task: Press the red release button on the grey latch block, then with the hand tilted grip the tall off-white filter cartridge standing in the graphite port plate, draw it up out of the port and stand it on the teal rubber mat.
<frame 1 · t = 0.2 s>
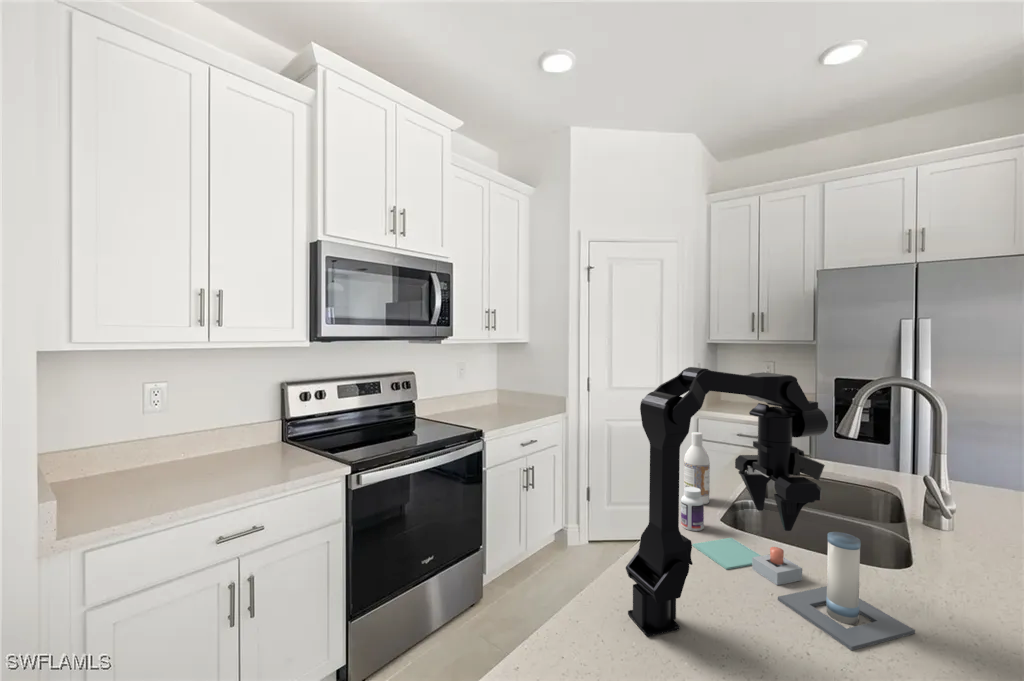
hand: (773, 519, 88), 14 cm above the counter, tool pointing down, fingers open, 9 cm apart
latch block: (776, 574, 95), on the counter
release button: (776, 555, 95), point 4 cm above the counter, slide at 0.0 cm
port plate: (842, 615, 81), on the counter
pill bottle: (692, 527, 117), on the counter
cartridge: (842, 615, 81), resting in port plate
rubber mat: (729, 553, 103), on the counter
bath foam: (696, 501, 134), on the counter
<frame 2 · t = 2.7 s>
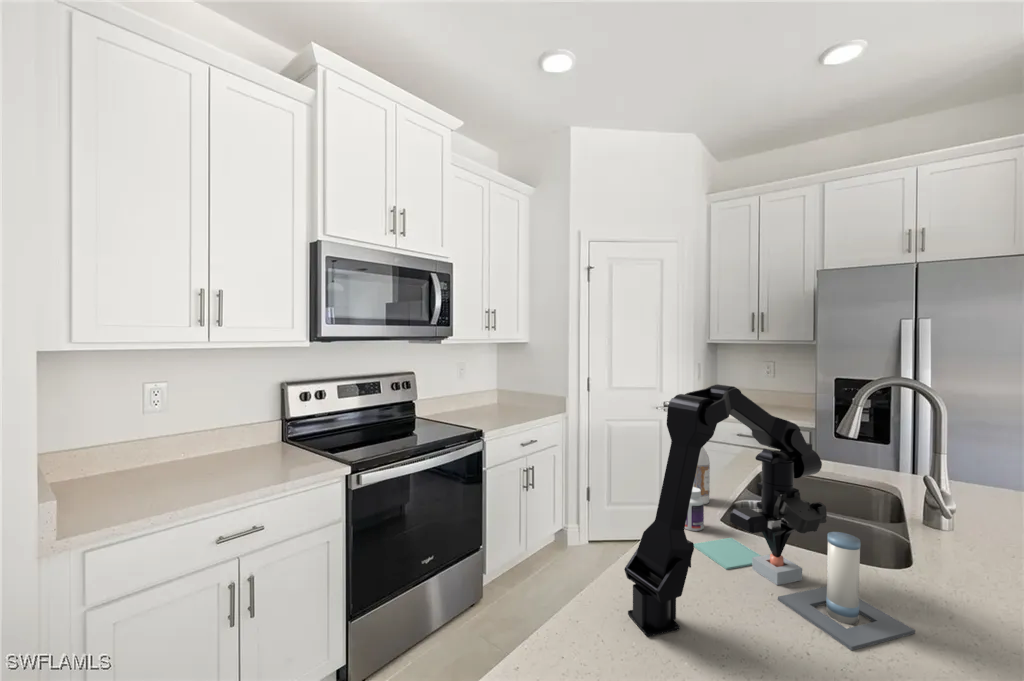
hand: (776, 556, 95), 4 cm above the counter, tool pointing down, fingers closed, pressing on release button
release button: (776, 562, 95), point 3 cm above the counter, slide at 1.4 cm, touching gripper
everything else where it was.
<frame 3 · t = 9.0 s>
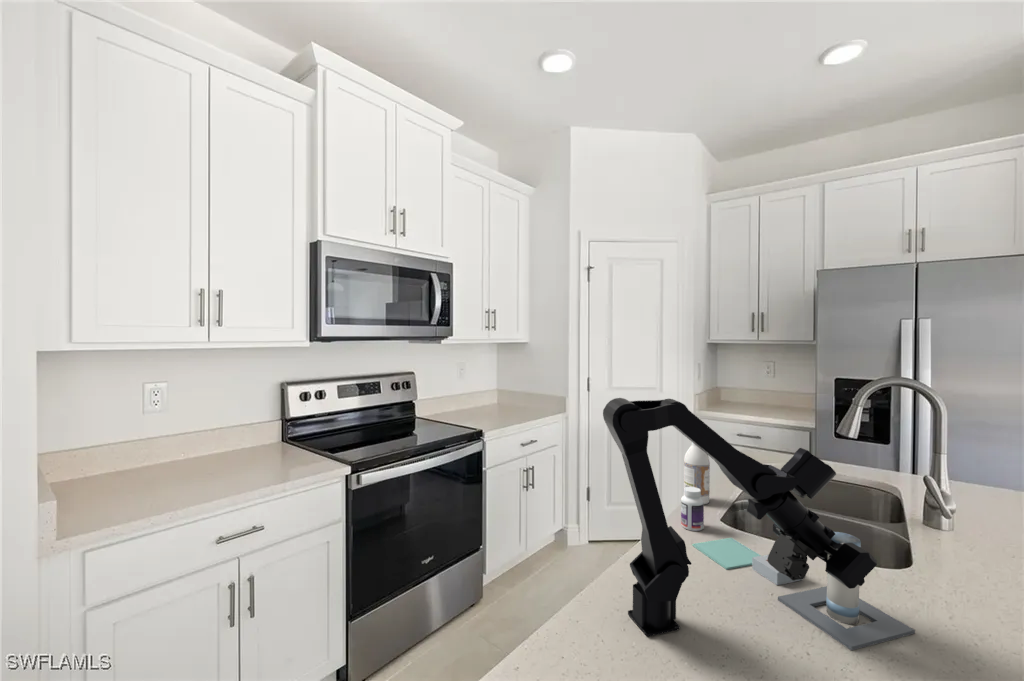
hand: (850, 576, 81), 7 cm above the counter, tool tilted 45°, fingers closed on cartridge, 5 cm apart
release button: (776, 564, 95), point 2 cm above the counter, slide at 1.9 cm
cartridge: (842, 615, 81), resting in port plate, touching gripper
everything else where it was.
when the fingers open (8 cm above the counter, at t = 13.7 s): cartridge stays where it is, resting on rubber mat.
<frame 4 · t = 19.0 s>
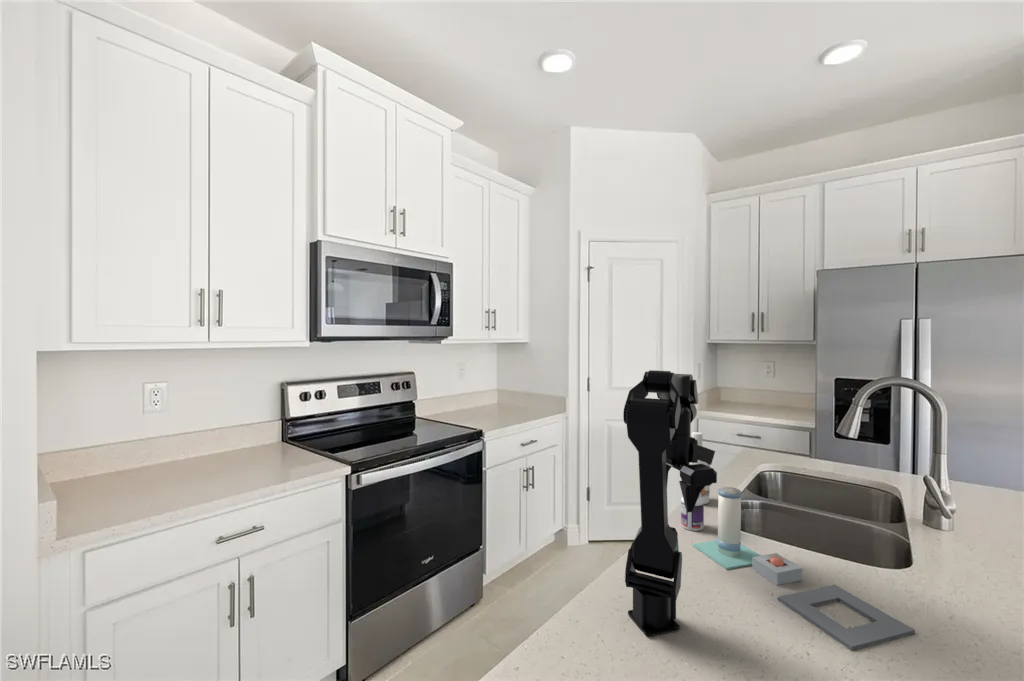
hand: (676, 503, 99), 13 cm above the counter, tool pointing down, fingers open, 9 cm apart
cartridge: (728, 551, 103), resting on rubber mat
everything else where it was.
at the end: cartridge inside the target area (0.0 cm from its centre), resting on rubber mat; cartridge tilted 0°; release button slide at 1.9 cm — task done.
